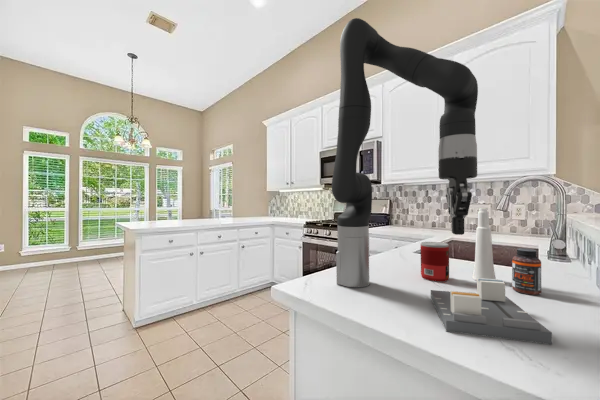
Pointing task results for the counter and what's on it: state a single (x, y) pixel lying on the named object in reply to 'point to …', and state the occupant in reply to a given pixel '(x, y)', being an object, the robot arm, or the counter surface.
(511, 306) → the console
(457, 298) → the fader
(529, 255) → the supplement bottle
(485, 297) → the fader
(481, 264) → the cosmetic bottle
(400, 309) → the counter surface
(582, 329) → the counter surface
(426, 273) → the canned food
